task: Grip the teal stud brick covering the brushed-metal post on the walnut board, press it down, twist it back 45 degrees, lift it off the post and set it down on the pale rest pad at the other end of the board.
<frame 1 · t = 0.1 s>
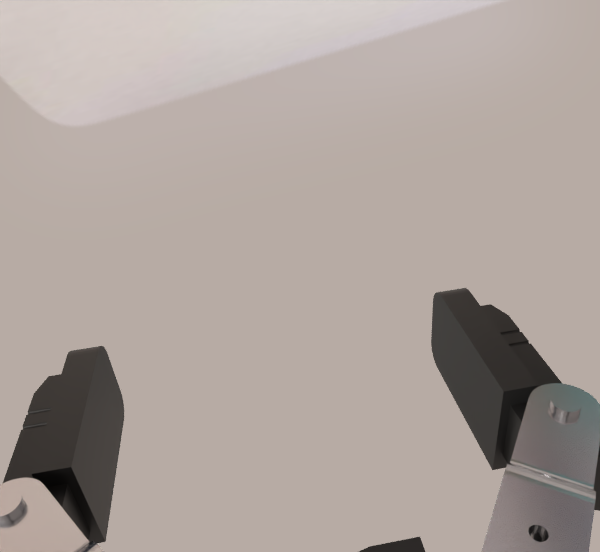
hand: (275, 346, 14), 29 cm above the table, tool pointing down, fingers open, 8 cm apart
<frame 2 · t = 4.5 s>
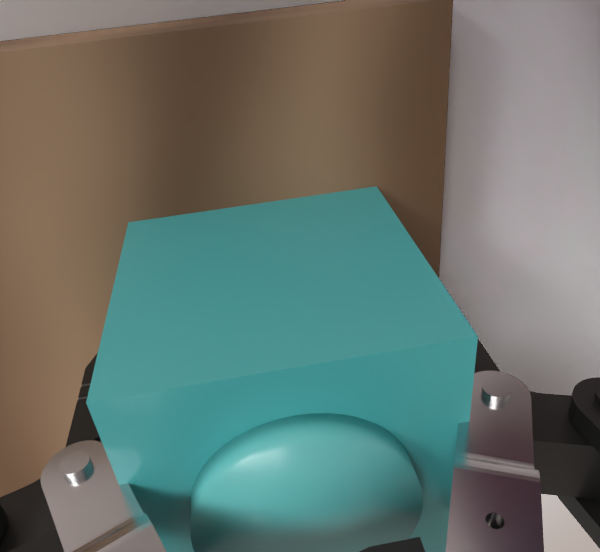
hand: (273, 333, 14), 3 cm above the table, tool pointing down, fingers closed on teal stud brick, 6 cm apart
teal stud brick: (269, 305, 15), point 2 cm above the table, touching board, gripper
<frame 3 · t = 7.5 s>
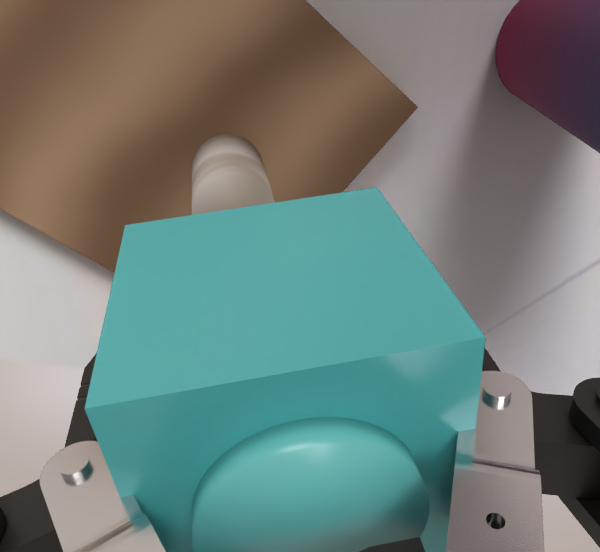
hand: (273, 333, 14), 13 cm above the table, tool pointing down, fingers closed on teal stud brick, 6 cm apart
cup: (547, 42, 25), on the table
board: (62, 38, 22), on the table
teal stud brick: (268, 309, 15), point 12 cm above the table, touching gripper
when the fingers open (4 cm above the table, at t = 11.1 s): teal stud brick drops 2 cm, resting on board.
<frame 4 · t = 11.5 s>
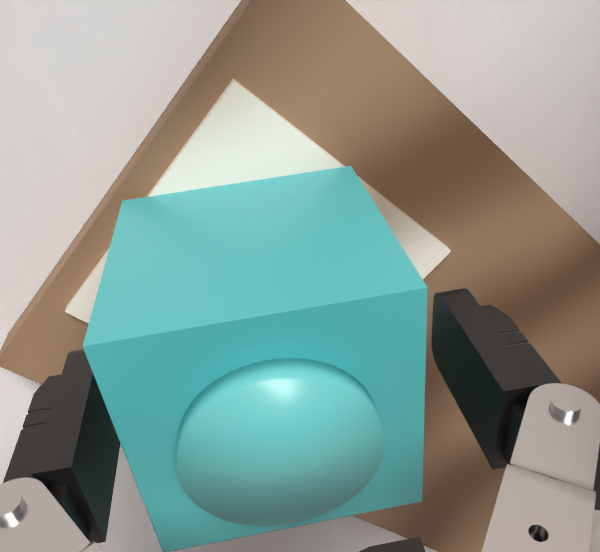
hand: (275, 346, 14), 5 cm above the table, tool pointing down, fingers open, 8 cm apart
board: (421, 355, 21), on the table
teal stud brick: (254, 279, 16), point 2 cm above the table, touching board
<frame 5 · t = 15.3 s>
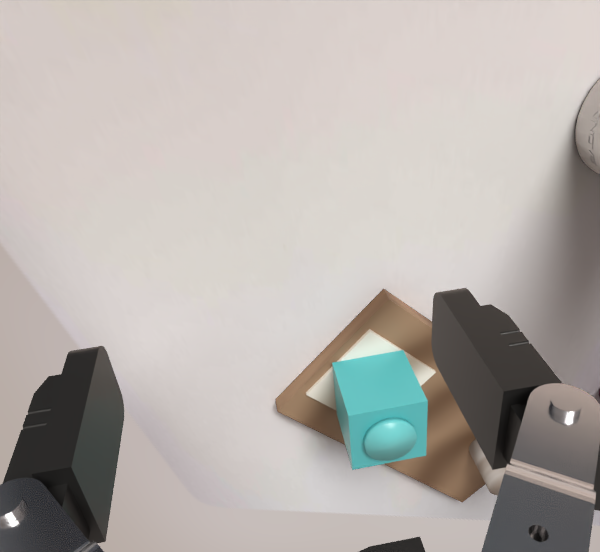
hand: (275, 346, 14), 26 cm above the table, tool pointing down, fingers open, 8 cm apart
board: (425, 404, 54), on the table
teal stud brick: (369, 383, 49), point 2 cm above the table, touching board
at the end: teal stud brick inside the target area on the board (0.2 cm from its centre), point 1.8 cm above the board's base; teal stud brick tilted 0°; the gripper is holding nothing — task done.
